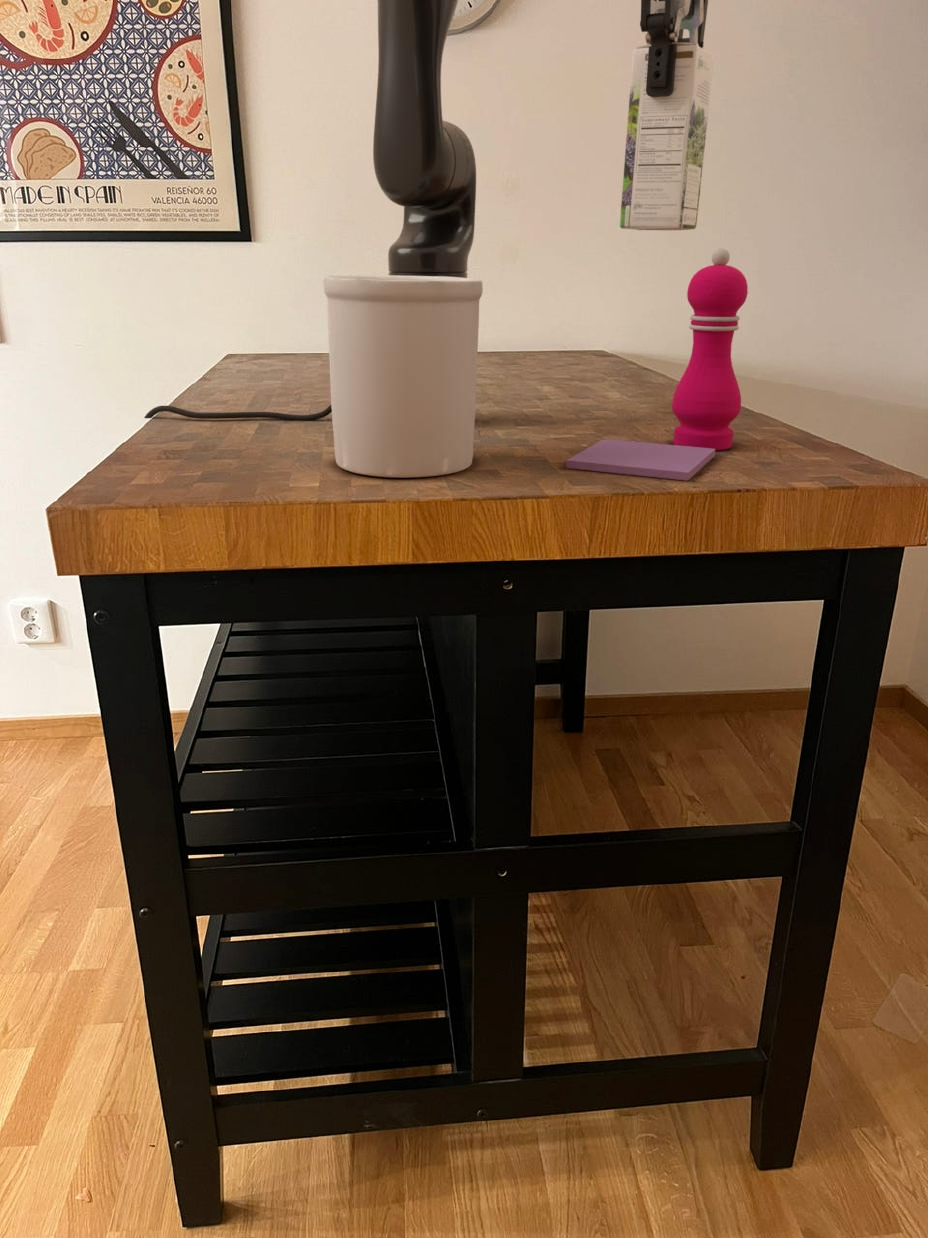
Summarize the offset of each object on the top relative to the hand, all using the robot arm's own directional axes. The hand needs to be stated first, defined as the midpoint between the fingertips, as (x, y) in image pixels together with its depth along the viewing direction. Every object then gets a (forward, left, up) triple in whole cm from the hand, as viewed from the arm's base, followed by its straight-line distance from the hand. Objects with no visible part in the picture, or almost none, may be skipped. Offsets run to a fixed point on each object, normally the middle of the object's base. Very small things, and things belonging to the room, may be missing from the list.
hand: (668, 99), depth 82 cm
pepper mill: (+4, +11, -32) cm, 34 cm away
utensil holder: (-21, -11, -32) cm, 40 cm away
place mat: (0, 0, -32) cm, 32 cm away
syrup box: (0, 0, -11) cm, 11 cm away
